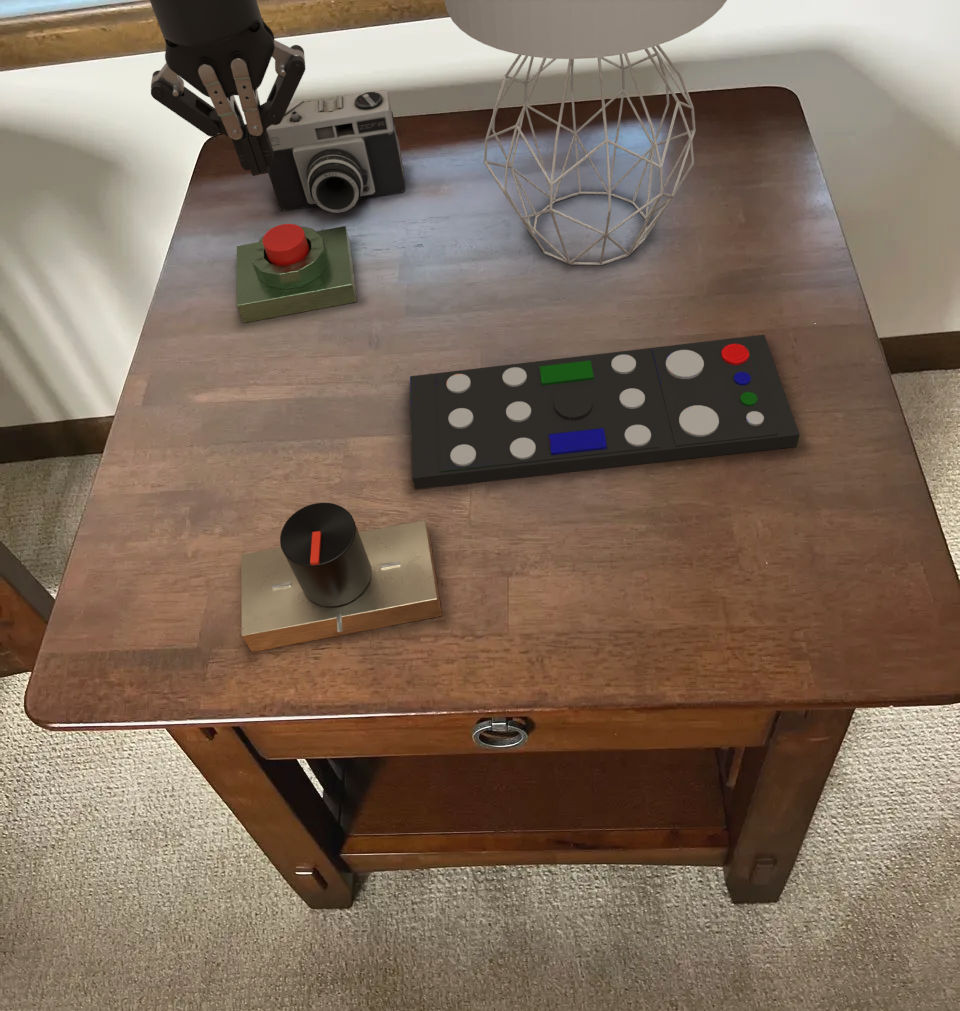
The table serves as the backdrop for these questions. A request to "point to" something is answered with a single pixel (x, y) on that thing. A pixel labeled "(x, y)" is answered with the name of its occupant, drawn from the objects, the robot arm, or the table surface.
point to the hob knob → (326, 554)
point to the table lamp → (572, 35)
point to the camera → (336, 152)
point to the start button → (285, 244)
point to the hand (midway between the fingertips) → (260, 169)
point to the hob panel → (385, 602)
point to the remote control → (598, 412)
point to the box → (295, 277)
